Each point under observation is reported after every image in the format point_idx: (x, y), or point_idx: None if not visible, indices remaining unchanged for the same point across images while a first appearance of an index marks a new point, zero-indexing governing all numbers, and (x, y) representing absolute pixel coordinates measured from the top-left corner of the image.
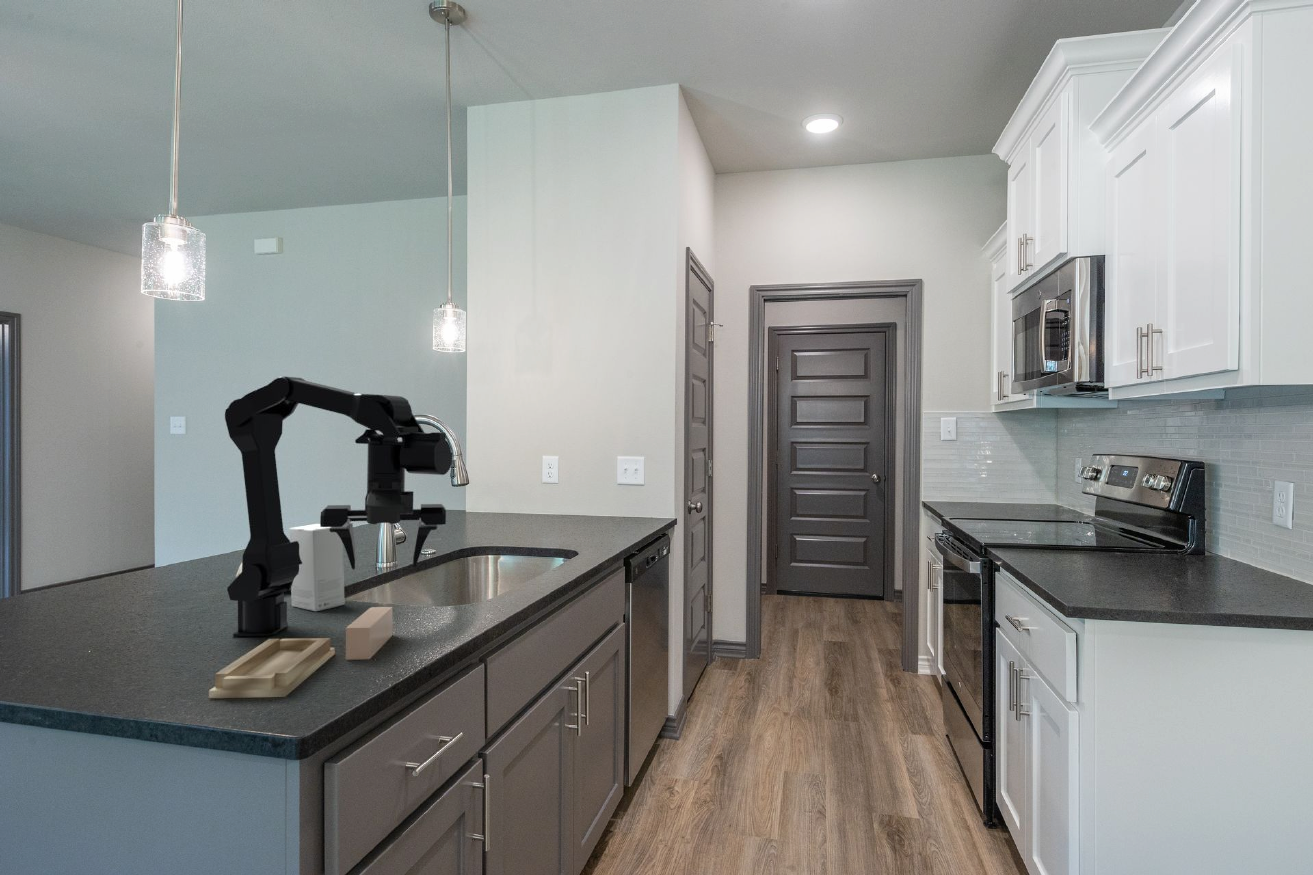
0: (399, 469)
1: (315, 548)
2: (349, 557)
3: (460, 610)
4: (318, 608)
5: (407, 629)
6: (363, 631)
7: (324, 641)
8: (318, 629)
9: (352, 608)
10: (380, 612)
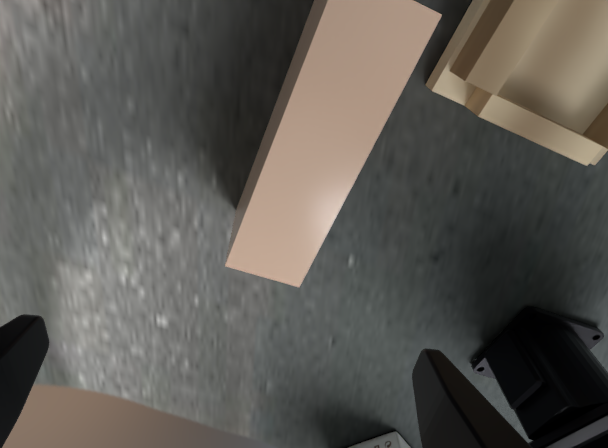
0: None
1: None
2: (496, 416)
3: (46, 355)
4: (390, 437)
5: (190, 246)
6: None
7: (496, 40)
8: (415, 322)
9: (317, 431)
10: (272, 209)
